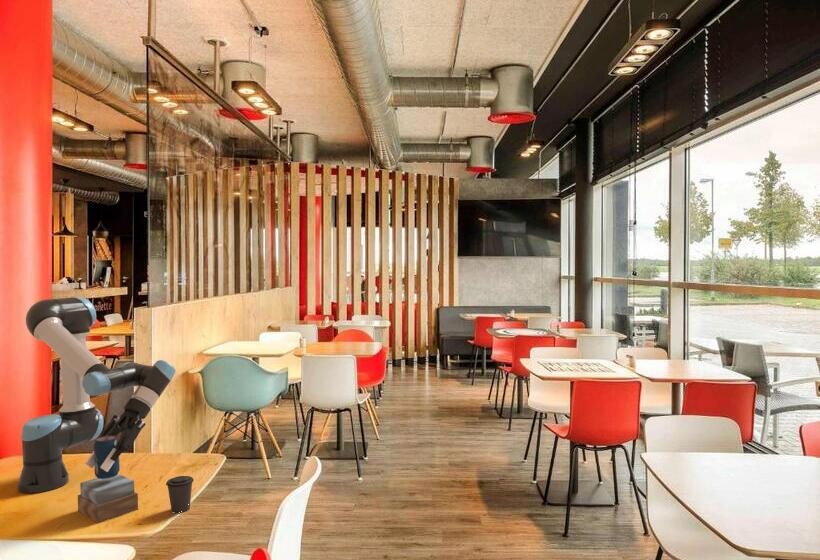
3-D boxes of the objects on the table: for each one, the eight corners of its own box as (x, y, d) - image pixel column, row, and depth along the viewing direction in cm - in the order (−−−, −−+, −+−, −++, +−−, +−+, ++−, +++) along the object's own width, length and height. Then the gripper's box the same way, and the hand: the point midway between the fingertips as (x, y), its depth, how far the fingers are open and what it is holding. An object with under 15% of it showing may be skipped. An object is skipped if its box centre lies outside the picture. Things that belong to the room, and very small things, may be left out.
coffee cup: (185, 516, 179) (184, 483, 178) (161, 514, 180) (160, 482, 180) (199, 505, 187) (198, 474, 186) (176, 503, 188) (175, 472, 188)
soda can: (124, 472, 186) (123, 434, 186) (109, 480, 179) (108, 441, 179) (105, 471, 187) (103, 434, 187) (89, 479, 181) (88, 440, 180)
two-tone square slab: (78, 511, 183) (77, 482, 183) (117, 498, 193) (116, 471, 193) (98, 523, 175) (97, 493, 174) (138, 509, 184) (137, 481, 184)
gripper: (168, 412, 192) (125, 478, 178) (129, 406, 201) (85, 468, 187) (153, 400, 187) (108, 466, 173) (114, 394, 196) (67, 457, 183)
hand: (96, 467), depth 180 cm, fingers closed on soda can, 7 cm apart
